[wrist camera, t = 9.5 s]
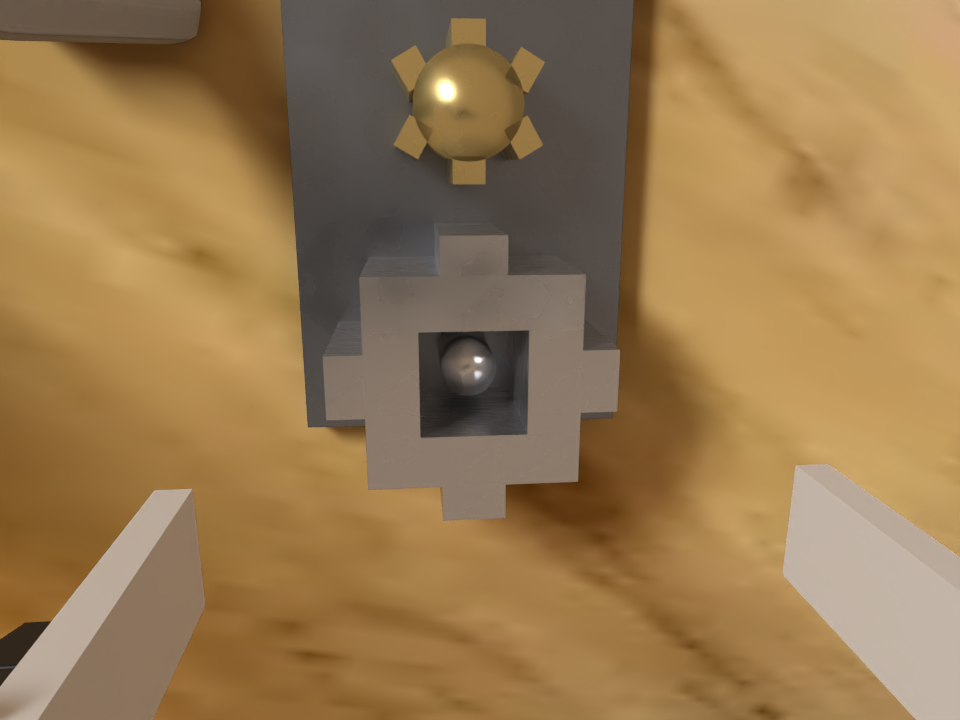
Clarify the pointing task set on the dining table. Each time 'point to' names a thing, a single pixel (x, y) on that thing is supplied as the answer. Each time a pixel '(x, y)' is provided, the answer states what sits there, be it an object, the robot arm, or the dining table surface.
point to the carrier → (453, 154)
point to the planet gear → (492, 413)
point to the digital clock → (100, 20)
